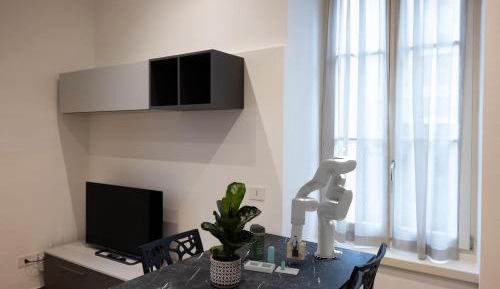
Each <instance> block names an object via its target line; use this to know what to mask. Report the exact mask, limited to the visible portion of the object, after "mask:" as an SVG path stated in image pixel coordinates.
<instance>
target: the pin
mask: <svg viewBox="0 0 500 289" xmlns="http://www.w3.org/2000/svg"><path fill="white" fill-rule="evenodd" d="M267 263H271V264H275V246H268V248H267Z"/></svg>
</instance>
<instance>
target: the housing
mask: <svg viewBox="0 0 500 289" xmlns="http://www.w3.org/2000/svg"><path fill="white" fill-rule="evenodd" d="M296 243H298V242H296ZM292 248H293V243H290V240H289V241H288V242H287V243H286V258H288V259H293V260H294V259H295V260H303V261H304V260H305V258H306V256H307V255H306V254H307V253H306V252H307V242H306V241H305V242H304V241H301V242H300V244H298V257H292Z"/></svg>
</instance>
